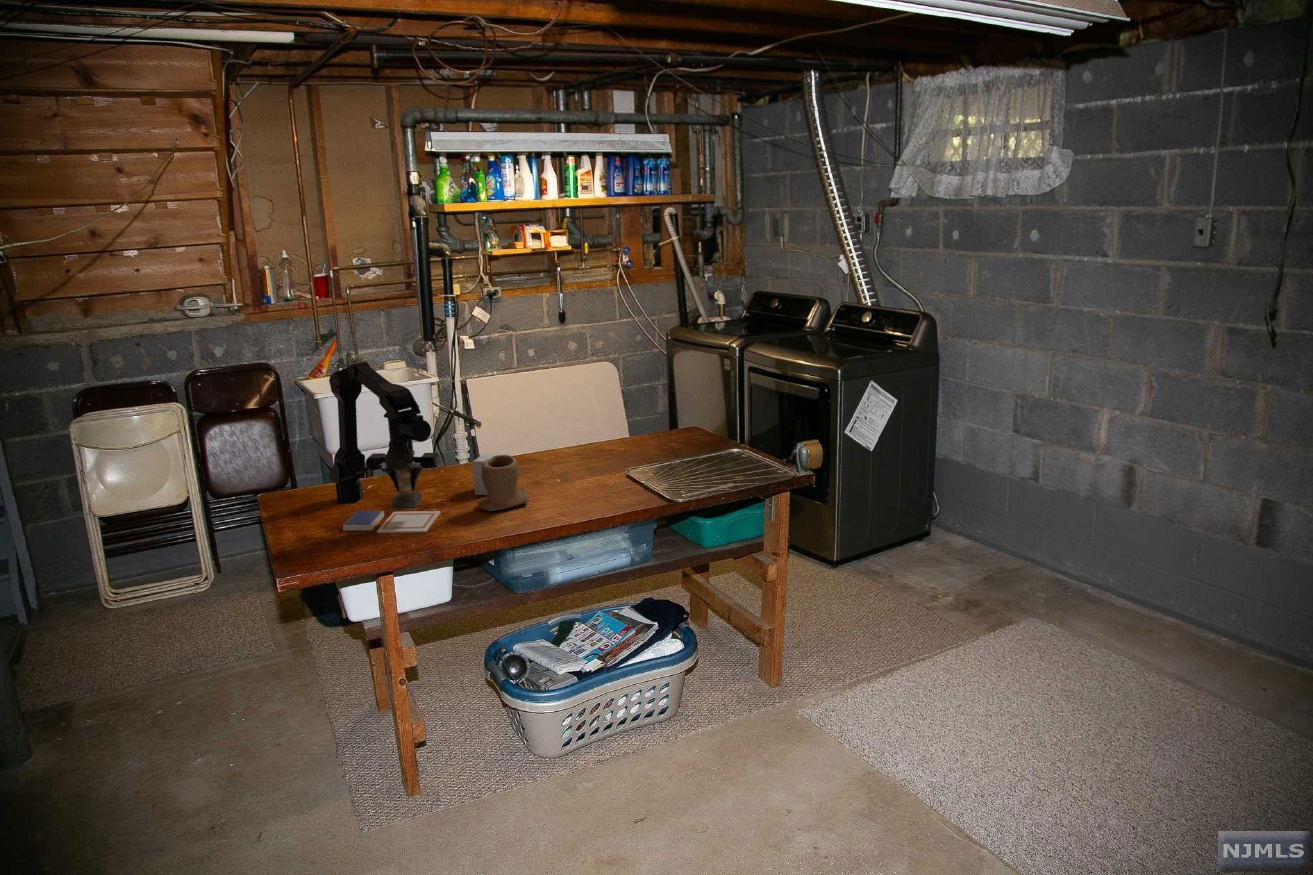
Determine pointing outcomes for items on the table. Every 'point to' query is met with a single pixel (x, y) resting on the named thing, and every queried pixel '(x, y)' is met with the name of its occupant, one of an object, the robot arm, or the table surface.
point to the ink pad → (363, 520)
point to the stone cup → (501, 484)
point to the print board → (409, 522)
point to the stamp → (405, 491)
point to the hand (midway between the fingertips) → (406, 490)
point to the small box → (480, 474)
